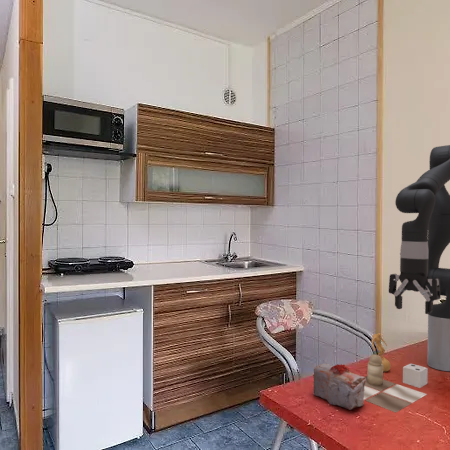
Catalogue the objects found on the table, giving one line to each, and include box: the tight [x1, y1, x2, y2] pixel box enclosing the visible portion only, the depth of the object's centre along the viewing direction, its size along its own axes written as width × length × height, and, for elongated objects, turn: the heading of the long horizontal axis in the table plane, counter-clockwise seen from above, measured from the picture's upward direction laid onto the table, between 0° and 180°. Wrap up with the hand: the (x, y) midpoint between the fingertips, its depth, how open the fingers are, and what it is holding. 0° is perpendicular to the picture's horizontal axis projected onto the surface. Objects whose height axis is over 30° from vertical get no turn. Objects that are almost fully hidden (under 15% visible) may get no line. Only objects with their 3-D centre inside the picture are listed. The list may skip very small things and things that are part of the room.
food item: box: [312, 363, 366, 411], centre depth 106 cm, size 14×8×10 cm, turn 40°
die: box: [402, 363, 429, 389], centre depth 119 cm, size 5×5×5 cm
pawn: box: [366, 354, 384, 386], centre depth 118 cm, size 4×4×8 cm
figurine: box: [370, 332, 392, 373], centre depth 129 cm, size 8×6×12 cm
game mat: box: [363, 375, 428, 414], centre depth 112 cm, size 18×18×1 cm
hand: (413, 311), depth 117 cm, fingers open, 8 cm apart
